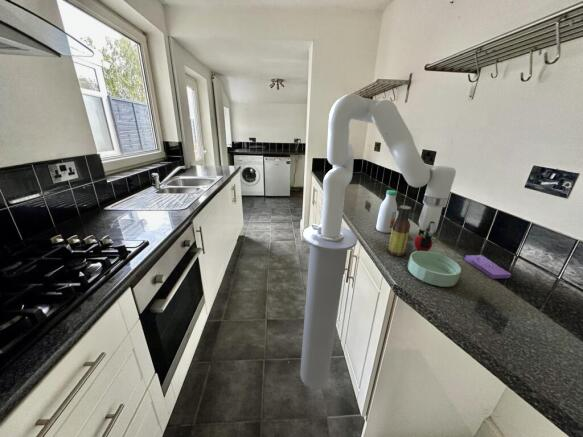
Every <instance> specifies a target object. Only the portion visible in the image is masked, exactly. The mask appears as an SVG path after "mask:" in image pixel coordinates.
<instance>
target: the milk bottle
mask: <svg viewBox="0 0 583 437" xmlns="http://www.w3.org/2000/svg"><path fill="white" fill-rule="evenodd" d="M397 195H398V191H396V190H393V189H387V190H386V194H385V198H384V200H383V201H382V202H381V204H380V207H379V210H378V216H377V221H376V227H375V228H376V229H375V230H376V231H379V232H380V233H385V234H391V232H392V226H393V224H394V223H395V221H396V218H397V217H396V216H397V211H398V204H397V201H396V197H397Z"/></svg>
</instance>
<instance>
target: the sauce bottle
mask: <svg viewBox="0 0 583 437" xmlns="http://www.w3.org/2000/svg"><path fill="white" fill-rule="evenodd" d="M411 211H412V207H411V206H408V205H400V206H398V214H397V217H396V218H395V222H394V224H393V226H392V232H390V237H389V243H388V252H389V253H390V254H391V255H393V256H395V257H396V256H397V257H402V256H404V255H405V253H406V248H407V244H408V239H409V235H410V228H411V222H410V220H409V218H410V213H411Z"/></svg>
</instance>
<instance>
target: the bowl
mask: <svg viewBox="0 0 583 437" xmlns="http://www.w3.org/2000/svg"><path fill="white" fill-rule="evenodd" d="M407 270H408V271H409V272H410V274H411V275H412V276H413V277H415V278H417V279H418V280H420V281H422V282H424V283H426V284H429V285H433V286H437V287H443V288H449V287H454V286H455V285H456V284H457V283H458V281H459V278H460V276H461V273H462V267H461V265H460V264H459V263H458V262H457V261H455V260H454V259H452V258H450V257H449V256H446V255H443V254H442V253H438V252H435V251H430V250H428V251H417V250H416V251H413V252H411V253H410V255H409V258H408V262H407Z"/></svg>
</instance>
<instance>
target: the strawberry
mask: <svg viewBox="0 0 583 437" xmlns="http://www.w3.org/2000/svg"><path fill="white" fill-rule="evenodd" d="M423 236H424V235H423V234H421V235H418V234H417V236H415V237H414V239H413V243H414V247H415V250H416V251H430V250H431V249H432V247H433V241H431V244H430V248H424V247H420V243H421V240H422V237H423ZM433 238H434V236H433V237H432V239H433Z"/></svg>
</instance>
